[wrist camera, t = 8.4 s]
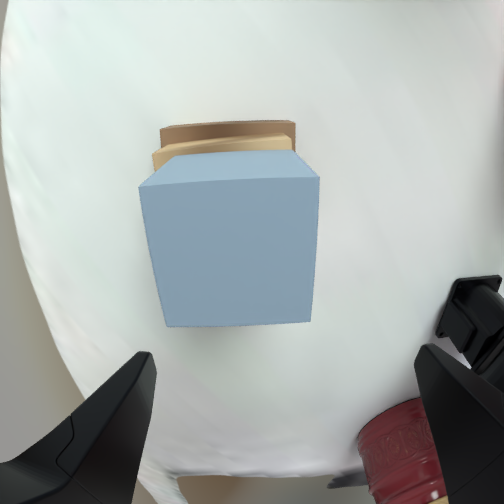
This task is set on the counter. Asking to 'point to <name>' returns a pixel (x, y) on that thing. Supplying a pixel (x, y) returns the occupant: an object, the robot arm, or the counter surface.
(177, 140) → the tower base
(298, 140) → the counter surface
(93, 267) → the counter surface
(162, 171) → the block
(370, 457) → the canister
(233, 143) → the tower mid
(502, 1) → the counter surface
